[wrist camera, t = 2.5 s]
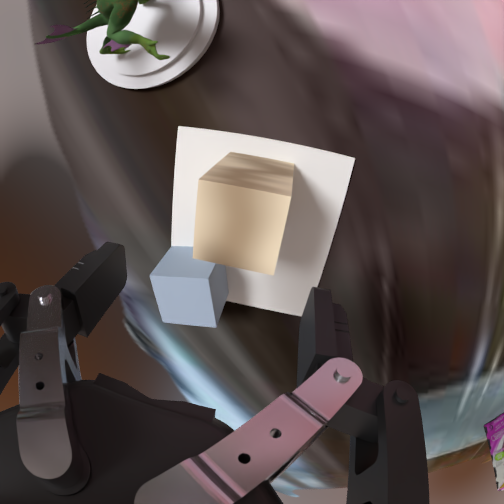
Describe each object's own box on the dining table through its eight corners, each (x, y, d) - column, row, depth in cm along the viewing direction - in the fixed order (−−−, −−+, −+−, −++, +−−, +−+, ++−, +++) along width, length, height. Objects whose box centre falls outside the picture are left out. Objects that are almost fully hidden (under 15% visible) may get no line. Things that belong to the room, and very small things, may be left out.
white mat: (354, 158, 22) (355, 158, 21) (306, 316, 30) (306, 317, 30) (179, 126, 22) (178, 126, 22) (171, 286, 30) (171, 287, 30)
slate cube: (223, 247, 27) (208, 278, 23) (228, 292, 29) (216, 327, 25) (171, 246, 28) (149, 275, 23) (180, 289, 30) (163, 322, 26)
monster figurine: (241, 52, 19) (197, 25, 10) (113, 111, 22) (29, 133, 14) (194, -56, 14) (139, -111, 5) (80, 10, 17) (-1, 0, 8)
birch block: (294, 163, 22) (291, 196, 16) (281, 221, 25) (273, 275, 18) (230, 151, 23) (198, 179, 16) (222, 209, 25) (192, 258, 18)
